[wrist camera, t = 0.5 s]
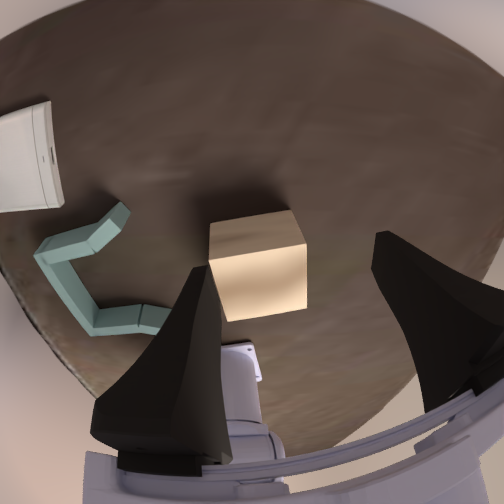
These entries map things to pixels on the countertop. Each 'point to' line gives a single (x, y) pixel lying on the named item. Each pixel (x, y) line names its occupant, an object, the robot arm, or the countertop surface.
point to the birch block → (259, 265)
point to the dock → (73, 291)
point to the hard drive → (28, 160)
